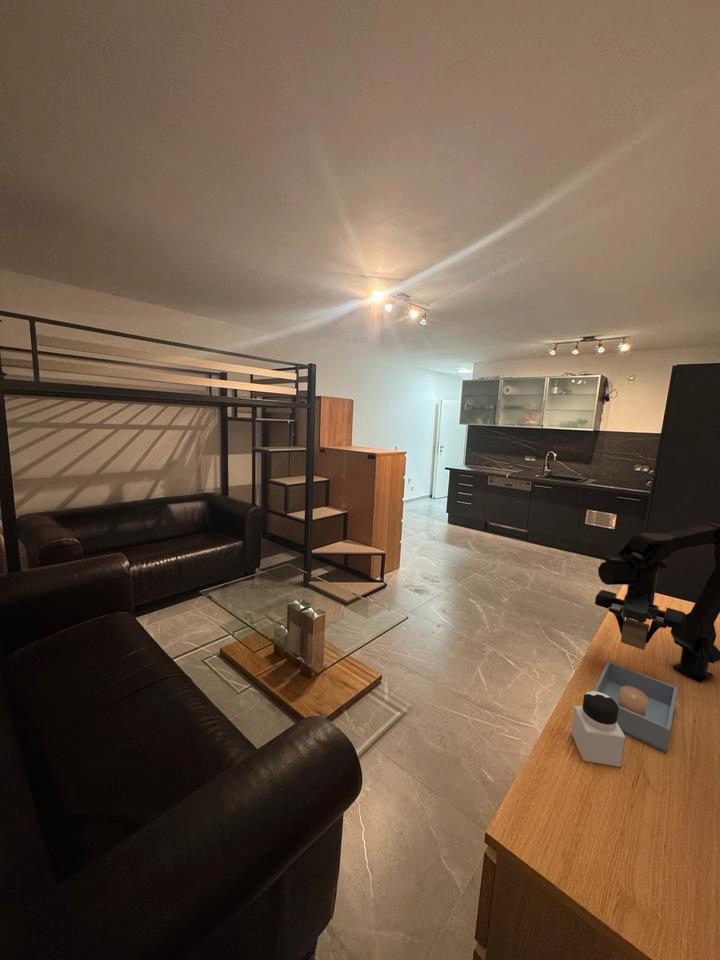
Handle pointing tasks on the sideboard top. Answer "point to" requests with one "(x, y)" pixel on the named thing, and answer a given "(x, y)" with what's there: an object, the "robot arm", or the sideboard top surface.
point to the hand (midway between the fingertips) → (634, 638)
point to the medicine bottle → (598, 730)
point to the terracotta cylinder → (633, 700)
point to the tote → (658, 708)
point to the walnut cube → (634, 633)
